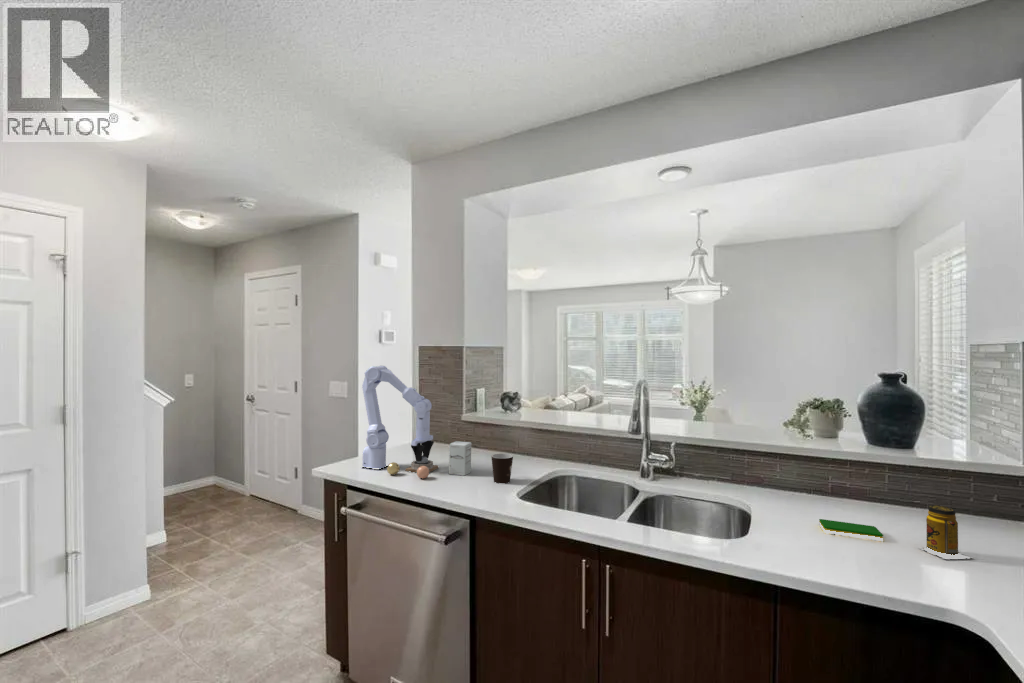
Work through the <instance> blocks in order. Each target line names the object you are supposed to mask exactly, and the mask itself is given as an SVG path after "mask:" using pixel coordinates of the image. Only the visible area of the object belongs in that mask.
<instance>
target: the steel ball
mask: <svg viewBox="0 0 1024 683" xmlns="http://www.w3.org/2000/svg"><path fill="white" fill-rule="evenodd" d="M428 460H429V457H428V458H427V457H426V456H423V454H422V460H421V461H416V460H415V461H416V462H417V464H420V465H421V464H428Z"/></svg>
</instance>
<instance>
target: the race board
mask: <svg viewBox="0 0 1024 683" xmlns="http://www.w3.org/2000/svg"><path fill="white" fill-rule="evenodd" d="M410 464H411V466H409V467H407V468H405V472H406V471H411V472H410V473H413V472H417V469H418V468H419V467H420V466H426V467H428V469H429V472H430V473H432V472H433V470H434V471H435V469H436V470H438V469H439V465H437V464H434V461H432V460H430V459H428V464H421V465H420V464H417V462H416V460H413V461H411V463H410ZM437 468H438V469H437ZM431 471H432V472H431Z"/></svg>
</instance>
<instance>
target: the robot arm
mask: <svg viewBox="0 0 1024 683" xmlns="http://www.w3.org/2000/svg"><path fill="white" fill-rule="evenodd" d="M381 382H385V383H389V384H390V386H392V387H393V388H395V389H396V390H397V391H399V392H400V393H401V394H402V395H401V396H402V398H403V399H404V401H406V402H407V403H408V404H409V405H411V406H412V407H413V409H414V411H415V414H416V418H415V419H416V422H415V438H414V439H413V440H411V444H410V447H411V449H412V452H413V454H414V458H415V461H421V460H422V455H423V456H426V457H427V458H428V459H429V456H430V454H431V450H432V447H433V445H434V444H435V442H434V434H431V433H430V426H431V418H430V414H431V410H432V406H433V405H432V402H431V400H430V399H428V398H425V396H424V395H421V394H420V393H419V392H418V391H417V389H416V388H415V387H414V388H413V387H408V386H407V385H406V384H405V383H403V381H402V380H401V379H400V378H399V377H398V376H396V375H395V374H394V373H393V371H392V370H391V369H389V368H388V367H387V366H386V365H377V366H374V365H372V366H369V367H368V368H367V370H366V371H365V372H364V379H363V380H362V387H361V389H362V394H363V398H364V403H365V411H366V416H367V421H368V422H367V423H368V428H367V430H366V434H367V435H366V444H367V446H365V447H364V448H363V451H362V463H361V464H362V466H364V467H370V468H379V469H380V468H383V469H385V468H384V467H385V466H386V464H387V442H388V441H389V437H390V436H389V433H388V431H387V430H386V426H385V425H384V424H383V421H382V417H381V411H380V406H379V399H378V395H377V389H376V388H377V387H378V386H379V385H380V383H381ZM362 466H361V467H362Z"/></svg>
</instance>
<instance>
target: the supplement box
mask: <svg viewBox="0 0 1024 683" xmlns="http://www.w3.org/2000/svg"><path fill="white" fill-rule="evenodd" d="M472 445H473V444H472V442H471V441H459V440H454V441H453V442H451V443H449V448H448V449H449V450H448V451H449V453H448V454H449V455H448V457H449V458H448V475H455V476H463V475H465V476H467V475H468V474H469V473H471V472H472V471H471V469H472ZM470 471H471V472H470Z"/></svg>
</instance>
